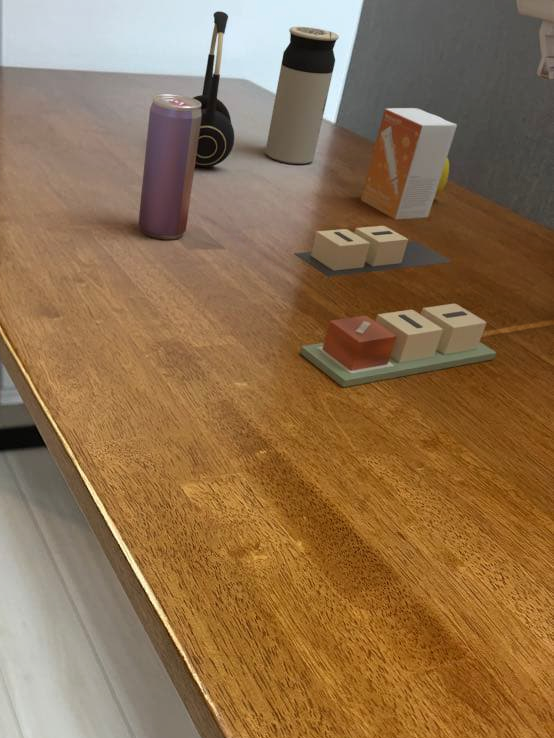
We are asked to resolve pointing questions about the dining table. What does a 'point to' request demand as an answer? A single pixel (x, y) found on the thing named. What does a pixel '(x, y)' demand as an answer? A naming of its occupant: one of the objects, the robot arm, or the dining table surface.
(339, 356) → the block
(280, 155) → the travel mug
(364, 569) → the dining table surface
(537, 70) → the robot arm
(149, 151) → the beverage can
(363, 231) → the board
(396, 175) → the small box
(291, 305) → the dining table surface
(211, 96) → the headphones
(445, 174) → the lemon
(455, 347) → the word board
